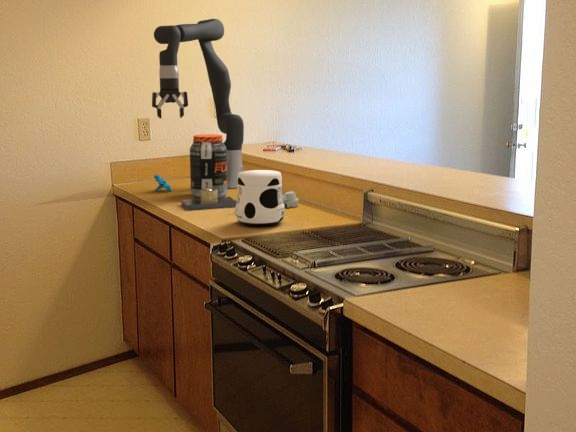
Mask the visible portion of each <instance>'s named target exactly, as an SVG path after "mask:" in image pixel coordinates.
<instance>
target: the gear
mask: <svg viewBox="0 0 576 432" xmlns="http://www.w3.org/2000/svg"><path fill="white" fill-rule="evenodd" d="M153 178H154V180H155V181H156V182H157V183H158V186H157V187H156V188H155V189H154V192H158V190H160V191H161V190H162V189H165V190H166V191H167V192H170V193H171V192H172V187H171V185H170V184H169V183H168V181H167V180H165V179H164V178H163V177H161V176H160V175H158V174H156V173H155V174H154V176H153Z"/></svg>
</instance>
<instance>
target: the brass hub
mask: <svg viewBox="0 0 576 432" xmlns="http://www.w3.org/2000/svg"><path fill="white" fill-rule="evenodd" d="M206 189H212V190H211V191H206ZM200 199H201V201H202V202H216V201H218V198H217V189H214V188H205V189H201V198H200Z"/></svg>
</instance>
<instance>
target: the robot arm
mask: <svg viewBox="0 0 576 432" xmlns="http://www.w3.org/2000/svg"><path fill="white" fill-rule="evenodd" d="M153 31H154V32H153V37H154V38H153V39H154V40H155V41H156V42H157V43H158V44H160V45H167V46H166V48H165V49H163V50H161V51H159V54H158V55H159V56H158V57H159V58H158V60H159V62H158V63H159V70H158V72H159V75H158V76H159V92H156V91H152V93H151V107H152V108H154V109H156V117H158V119H162V106H163V105H164V104H165V103H166V104H169V103H172V104H174V103H176V104H177V106H178V107H179V110H178V111H179V118H181V119H182V118H183V117H184V116H185V108H187V107H188V106H189V101H188V100H189V98H188V92H187V91H181V92H180V82H179V80H180V79H179V68H178V66H179V65H178V54H179V53H178V52H179V47H180V43H187V42H193V41H197V40H198V43H199V47H200V50H201V53H202V56H203V60H204V64H205V67H206V72H207V77H208V81H209V86H210V89H211V93H212V98H213V103H214V109H215V114H216V115H215V117H216V123H217V128H218V130H219V131H220V132H221V134H224V135H225V140H224V141H222V143H223V144H224V145H225V146H226V149H227V189H238V188H237V185H238V182H237V177H238V173H239V172H243V171H245V170H244V165H243V152H242V151H243V150H242V149H243V144H244V134H245V133H244V132H245V128H244V127H245V124H244V121H243V120H244V119H243V118H242V116H240V115H238V114H235V113H232V111H231V105H230V93H231V88H232V81H231V78H230V72H229V70H228V67H227V66H226V64H225V63H224V62H223V60H221V58H220V57H219V56H218V55H217V53H216V52H215V49H214V46H213V43H212V42H214V41H219V40H221V39H222V38H223V37H224V35H225V27H224V24H223V22H222V21H221V20H220V19H219V18H210V19H203V20H199V21H198V22H197V23H184V24H182V23H181V24H175V25H160V26H157V27H156V28H155V29H154V30H153ZM180 96H181V98H183V103H182V102H181V101H180V99H179V98H180ZM158 97H160V98H161V99H160V100H159V102H158V104H157V98H158Z"/></svg>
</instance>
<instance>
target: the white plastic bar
mask: <svg viewBox="0 0 576 432" xmlns="http://www.w3.org/2000/svg"><path fill="white" fill-rule="evenodd" d="M282 200H283V204H284V208H287V209H290V208H297V207H298V205H299V198H298V197H297V196H296V193H295V191H291V190H290V191H287V192H285V193H282Z"/></svg>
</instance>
